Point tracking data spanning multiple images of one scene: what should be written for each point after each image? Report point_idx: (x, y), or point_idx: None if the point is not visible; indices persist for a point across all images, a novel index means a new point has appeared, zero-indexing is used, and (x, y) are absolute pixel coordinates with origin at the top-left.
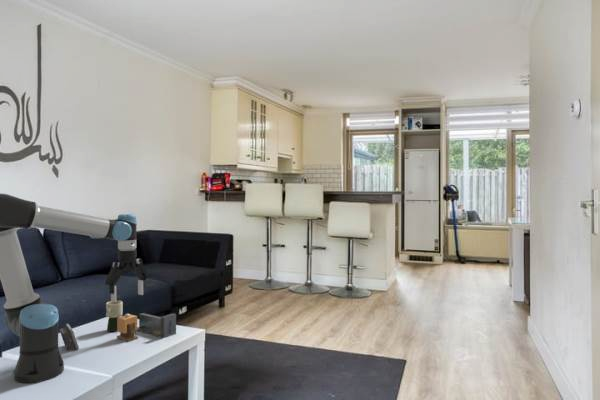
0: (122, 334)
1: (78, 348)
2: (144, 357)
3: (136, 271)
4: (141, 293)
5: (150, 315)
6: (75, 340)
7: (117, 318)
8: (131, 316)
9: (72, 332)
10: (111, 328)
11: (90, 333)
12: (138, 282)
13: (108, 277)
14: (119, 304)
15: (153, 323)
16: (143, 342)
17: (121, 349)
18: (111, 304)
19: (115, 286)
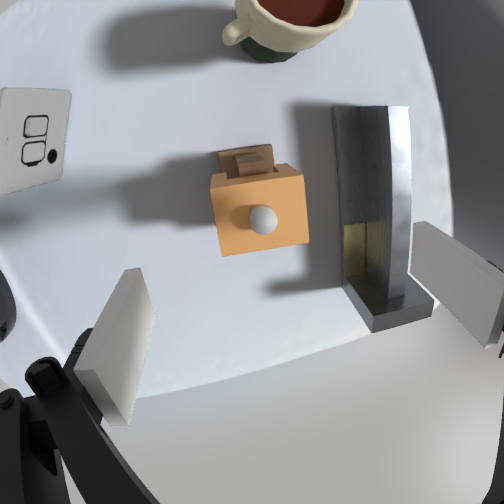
0: (237, 172)
1: (59, 176)
2: (200, 381)
3: (495, 471)
4: (416, 274)
5: (405, 180)
6: (34, 185)
7: (210, 189)
8: (283, 225)
9: (6, 193)
10: (246, 48)
11: (172, 4)
12: (483, 283)
13: (6, 483)
14: (313, 36)
15: (378, 214)
16: (268, 277)
17: (175, 287)
18: (259, 11)
19: (118, 422)
